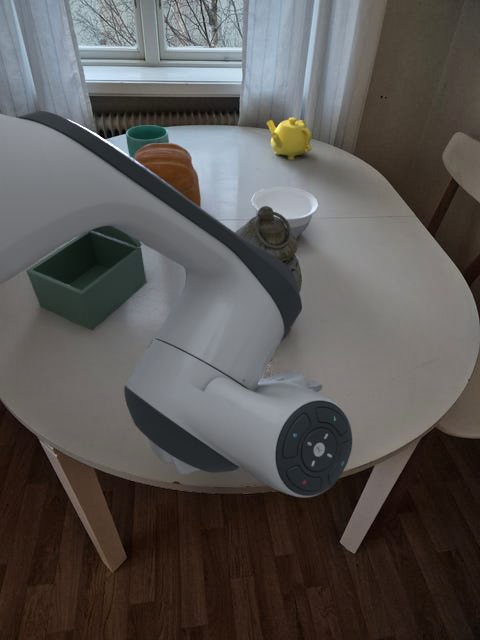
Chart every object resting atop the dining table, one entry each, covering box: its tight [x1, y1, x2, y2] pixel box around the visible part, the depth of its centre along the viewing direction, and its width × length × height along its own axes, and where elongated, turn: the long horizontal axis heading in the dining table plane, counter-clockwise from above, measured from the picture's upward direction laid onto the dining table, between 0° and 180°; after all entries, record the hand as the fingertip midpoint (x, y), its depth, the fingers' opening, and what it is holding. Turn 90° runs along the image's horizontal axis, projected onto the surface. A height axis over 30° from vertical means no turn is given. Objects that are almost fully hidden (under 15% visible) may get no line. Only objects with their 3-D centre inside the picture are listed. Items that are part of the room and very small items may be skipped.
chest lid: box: [92, 226, 143, 248], centre depth 80 cm, size 17×14×5 cm
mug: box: [125, 124, 170, 158], centre depth 131 cm, size 17×13×10 cm
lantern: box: [234, 206, 303, 339], centre depth 75 cm, size 14×14×25 cm
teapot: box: [266, 117, 313, 160], centre depth 140 cm, size 14×14×11 cm
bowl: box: [250, 185, 319, 240], centre depth 104 cm, size 16×16×8 cm
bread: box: [133, 142, 202, 208], centre depth 106 cm, size 18×22×17 cm
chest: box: [25, 230, 148, 331], centre depth 85 cm, size 17×14×9 cm
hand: (214, 402), depth 59 cm, fingers open, 8 cm apart
